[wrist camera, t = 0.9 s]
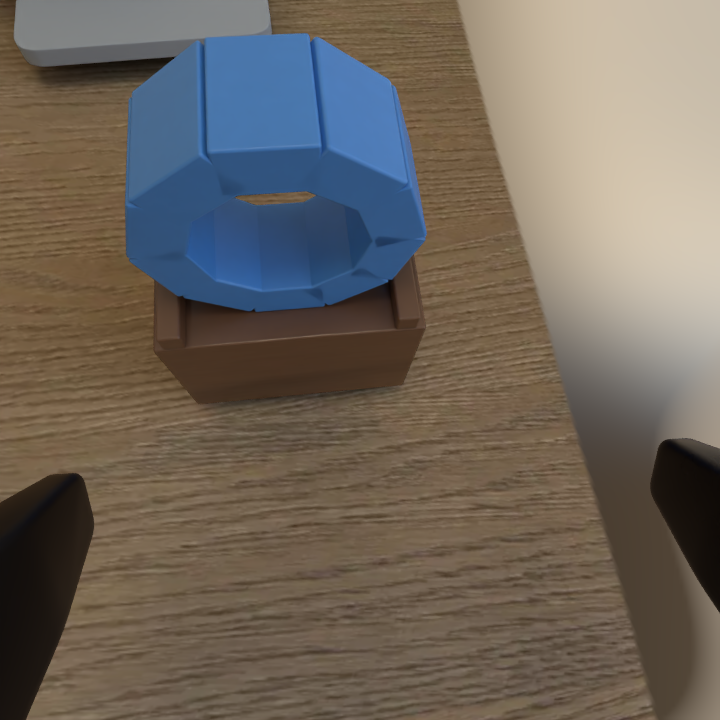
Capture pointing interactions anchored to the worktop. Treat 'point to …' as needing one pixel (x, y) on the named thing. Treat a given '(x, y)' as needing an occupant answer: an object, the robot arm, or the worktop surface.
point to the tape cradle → (291, 343)
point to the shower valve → (128, 27)
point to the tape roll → (269, 175)
